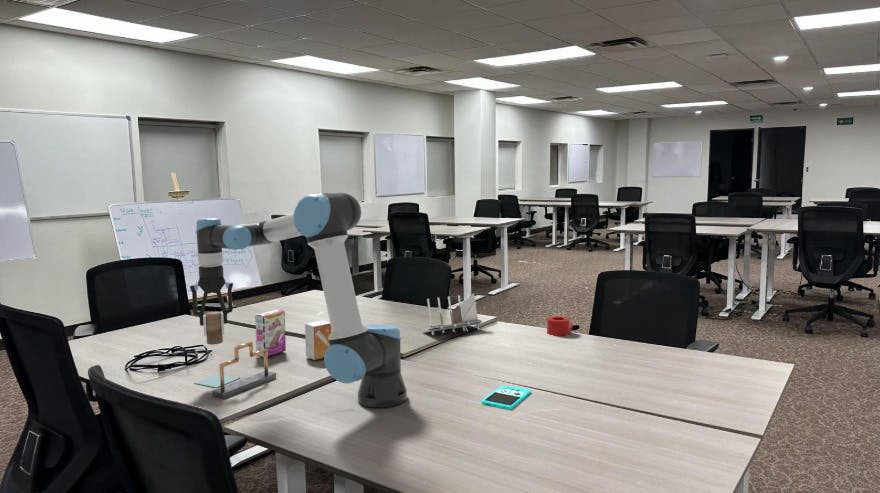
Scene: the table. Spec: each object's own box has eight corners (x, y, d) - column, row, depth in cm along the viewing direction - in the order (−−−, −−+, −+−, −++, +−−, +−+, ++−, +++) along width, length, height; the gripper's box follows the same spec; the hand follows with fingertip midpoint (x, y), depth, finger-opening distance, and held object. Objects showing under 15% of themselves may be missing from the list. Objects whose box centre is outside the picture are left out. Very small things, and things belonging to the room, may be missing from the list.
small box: (314, 360, 220) (313, 326, 218) (305, 357, 224) (304, 323, 223) (332, 355, 225) (331, 322, 224) (323, 352, 230) (322, 319, 228)
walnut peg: (222, 343, 195) (221, 314, 194) (206, 345, 194) (204, 315, 193) (223, 339, 200) (221, 311, 199) (207, 341, 198) (205, 312, 197)
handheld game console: (531, 393, 186) (531, 389, 185) (511, 411, 172) (511, 406, 172) (502, 388, 191) (502, 384, 190) (480, 404, 177) (480, 400, 177)
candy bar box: (265, 358, 223) (263, 316, 221) (256, 356, 225) (254, 314, 223) (287, 351, 232) (285, 310, 230) (277, 349, 235) (276, 308, 233)
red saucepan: (563, 337, 248) (564, 322, 247) (543, 334, 253) (543, 319, 252) (579, 328, 262) (580, 314, 262) (560, 325, 268) (560, 311, 267)
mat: (239, 378, 201) (239, 377, 201) (216, 388, 192) (216, 387, 192) (218, 374, 205) (218, 373, 205) (194, 383, 196) (194, 382, 196)
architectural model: (490, 328, 255) (484, 286, 257) (439, 336, 243) (433, 292, 246) (471, 330, 270) (465, 291, 272) (422, 338, 258) (416, 296, 261)
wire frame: (276, 378, 201) (274, 337, 199) (223, 399, 182) (220, 354, 180) (265, 376, 203) (264, 335, 202) (212, 396, 185) (209, 351, 183)
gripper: (239, 262, 200) (242, 329, 203) (182, 264, 194) (186, 333, 197) (239, 265, 193) (242, 334, 196) (180, 268, 187) (184, 339, 190)
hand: (214, 333), depth 197 cm, fingers closed on walnut peg, 5 cm apart
